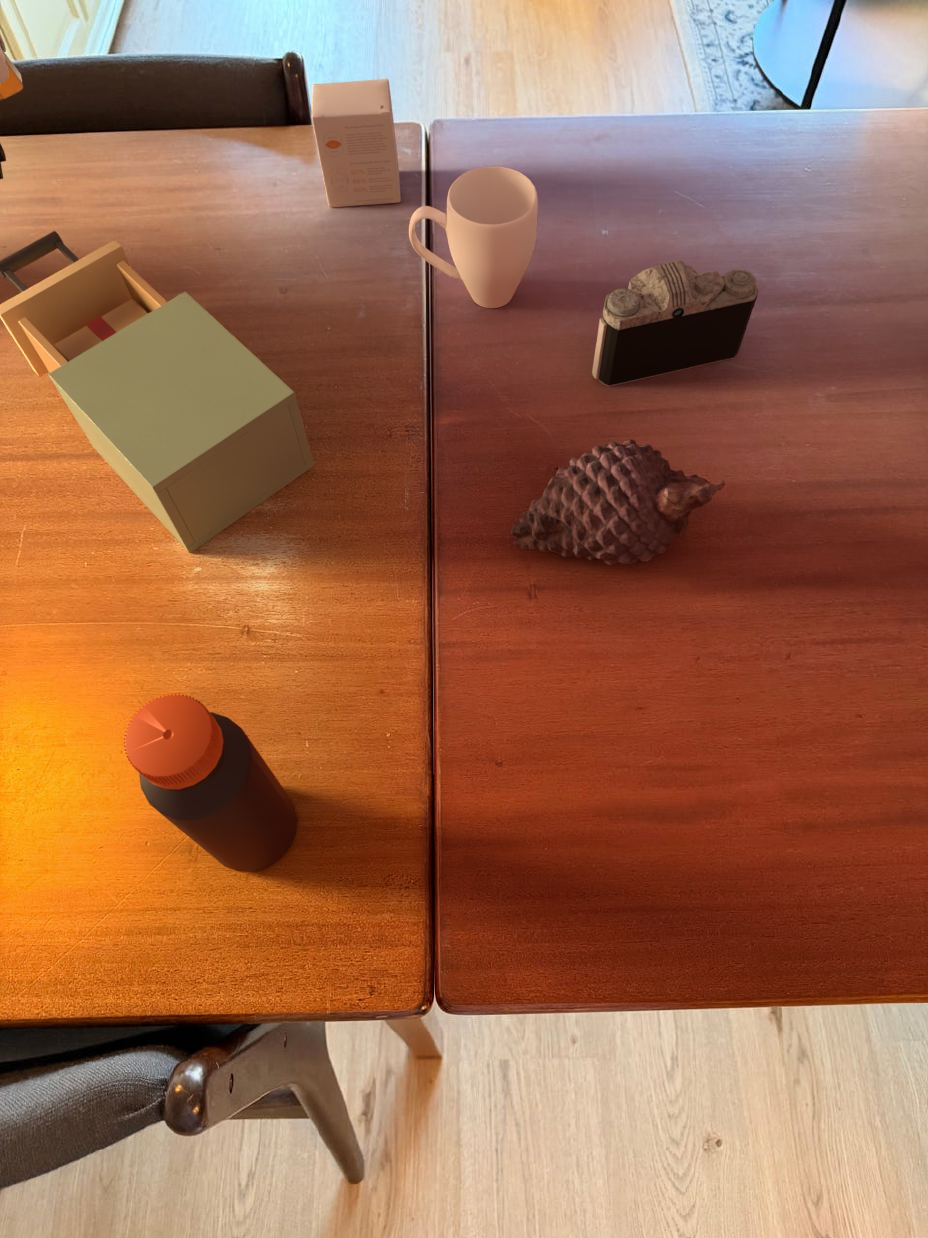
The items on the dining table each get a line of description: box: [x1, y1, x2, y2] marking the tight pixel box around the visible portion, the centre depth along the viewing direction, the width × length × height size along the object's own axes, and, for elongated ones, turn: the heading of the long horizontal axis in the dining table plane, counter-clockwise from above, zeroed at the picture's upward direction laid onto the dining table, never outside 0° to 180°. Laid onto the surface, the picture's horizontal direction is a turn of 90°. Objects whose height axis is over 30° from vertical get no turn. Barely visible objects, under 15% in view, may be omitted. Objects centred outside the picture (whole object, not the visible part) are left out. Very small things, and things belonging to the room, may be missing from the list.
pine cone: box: [510, 439, 726, 566], centre depth 74 cm, size 18×10×10 cm
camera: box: [591, 260, 759, 387], centre depth 83 cm, size 15×7×10 cm, turn 105°
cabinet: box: [47, 291, 316, 554], centre depth 79 cm, size 16×14×10 cm
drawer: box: [0, 230, 168, 378], centre depth 84 cm, size 22×13×8 cm, turn 42°
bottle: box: [123, 693, 299, 873], centre depth 58 cm, size 7×7×20 cm
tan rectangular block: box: [54, 299, 148, 362], centre depth 84 cm, size 3×8×4 cm, turn 132°
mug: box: [408, 165, 539, 309], centre depth 87 cm, size 12×8×11 cm
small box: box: [311, 78, 401, 208], centre depth 95 cm, size 8×6×10 cm
